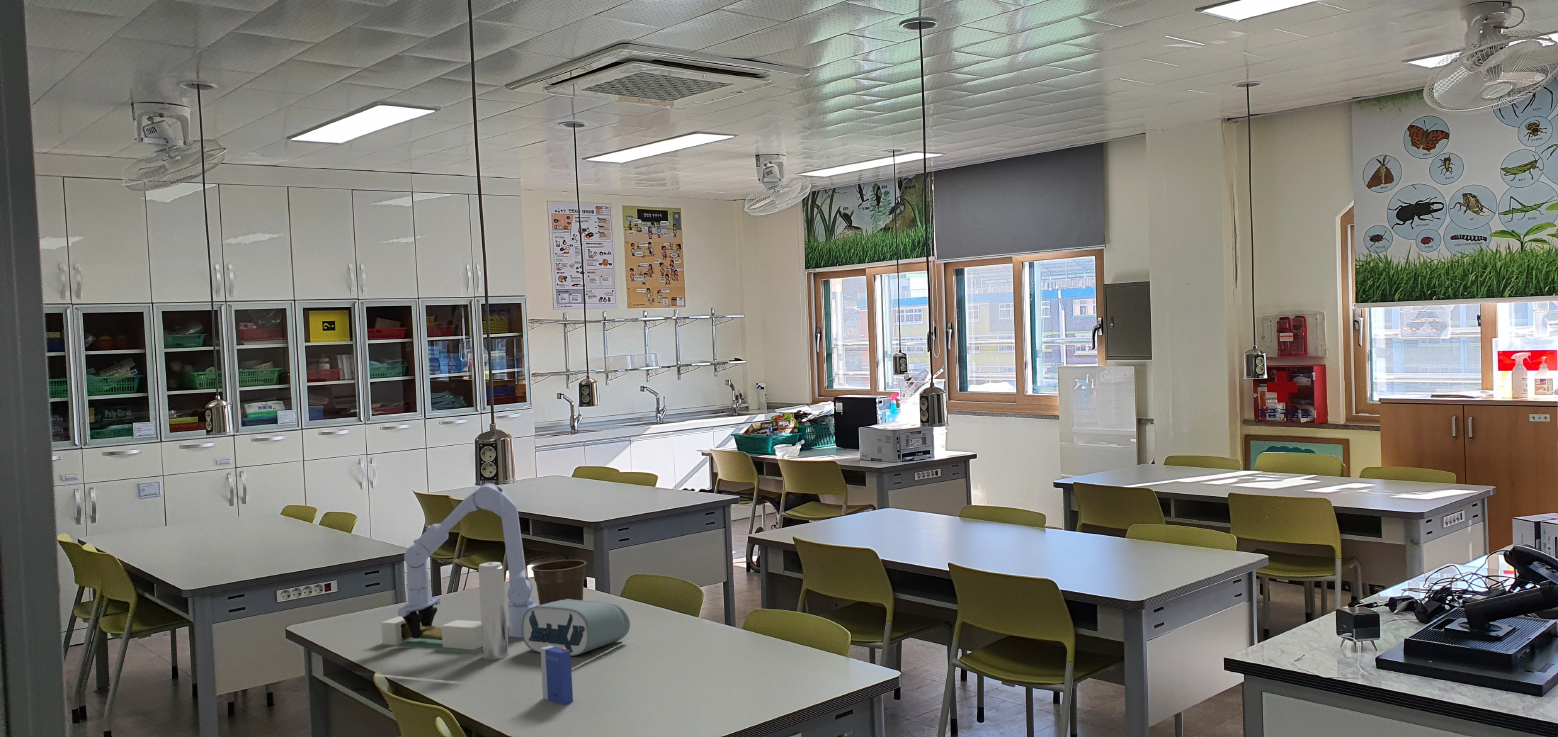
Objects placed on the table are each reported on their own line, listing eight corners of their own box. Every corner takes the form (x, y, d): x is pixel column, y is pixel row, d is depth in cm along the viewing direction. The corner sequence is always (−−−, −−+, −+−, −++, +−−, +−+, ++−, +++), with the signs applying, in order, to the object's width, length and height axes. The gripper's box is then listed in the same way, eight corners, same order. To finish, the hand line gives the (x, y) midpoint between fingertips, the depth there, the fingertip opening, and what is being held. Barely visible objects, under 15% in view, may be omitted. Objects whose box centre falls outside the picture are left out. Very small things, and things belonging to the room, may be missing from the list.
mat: (496, 642, 303) (496, 640, 303) (468, 654, 292) (468, 652, 292) (406, 635, 316) (406, 633, 316) (376, 647, 305) (375, 645, 305)
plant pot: (529, 616, 332) (526, 563, 331) (581, 608, 338) (578, 556, 338) (541, 627, 317) (537, 572, 317) (595, 619, 324) (592, 565, 323)
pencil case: (521, 653, 290) (520, 604, 290) (567, 638, 307) (566, 592, 307) (588, 660, 280) (587, 610, 280) (632, 644, 296) (631, 596, 297)
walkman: (573, 701, 248) (570, 648, 247) (563, 704, 246) (560, 651, 245) (552, 695, 253) (549, 643, 253) (542, 698, 251) (539, 646, 251)
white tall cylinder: (502, 661, 283) (496, 565, 283) (478, 661, 284) (473, 565, 284) (513, 654, 289) (507, 560, 289) (490, 654, 291) (484, 560, 290)
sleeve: (489, 643, 300) (488, 621, 300) (474, 649, 295) (473, 627, 294) (458, 640, 305) (456, 619, 305) (442, 646, 299) (441, 625, 299)
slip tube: (466, 639, 302) (465, 625, 302) (456, 643, 298) (456, 629, 298) (406, 635, 310) (406, 621, 310) (397, 638, 307) (396, 625, 307)
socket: (419, 636, 312) (418, 615, 312) (396, 644, 304) (395, 623, 304) (405, 635, 314) (404, 614, 314) (382, 643, 306) (381, 622, 306)
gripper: (425, 581, 314) (428, 628, 314) (388, 592, 301) (391, 641, 301) (444, 582, 311) (447, 629, 311) (408, 593, 298) (411, 643, 298)
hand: (421, 635), depth 306 cm, fingers closed on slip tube, 4 cm apart
